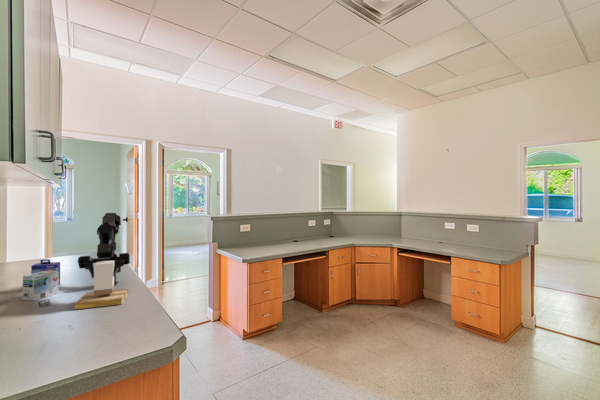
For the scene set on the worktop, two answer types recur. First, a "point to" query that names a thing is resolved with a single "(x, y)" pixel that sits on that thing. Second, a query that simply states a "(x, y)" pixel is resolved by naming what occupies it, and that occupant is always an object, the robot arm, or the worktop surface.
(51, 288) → the light bulb box
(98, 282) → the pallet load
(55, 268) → the ink cartridge box
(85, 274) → the worktop surface
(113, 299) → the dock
